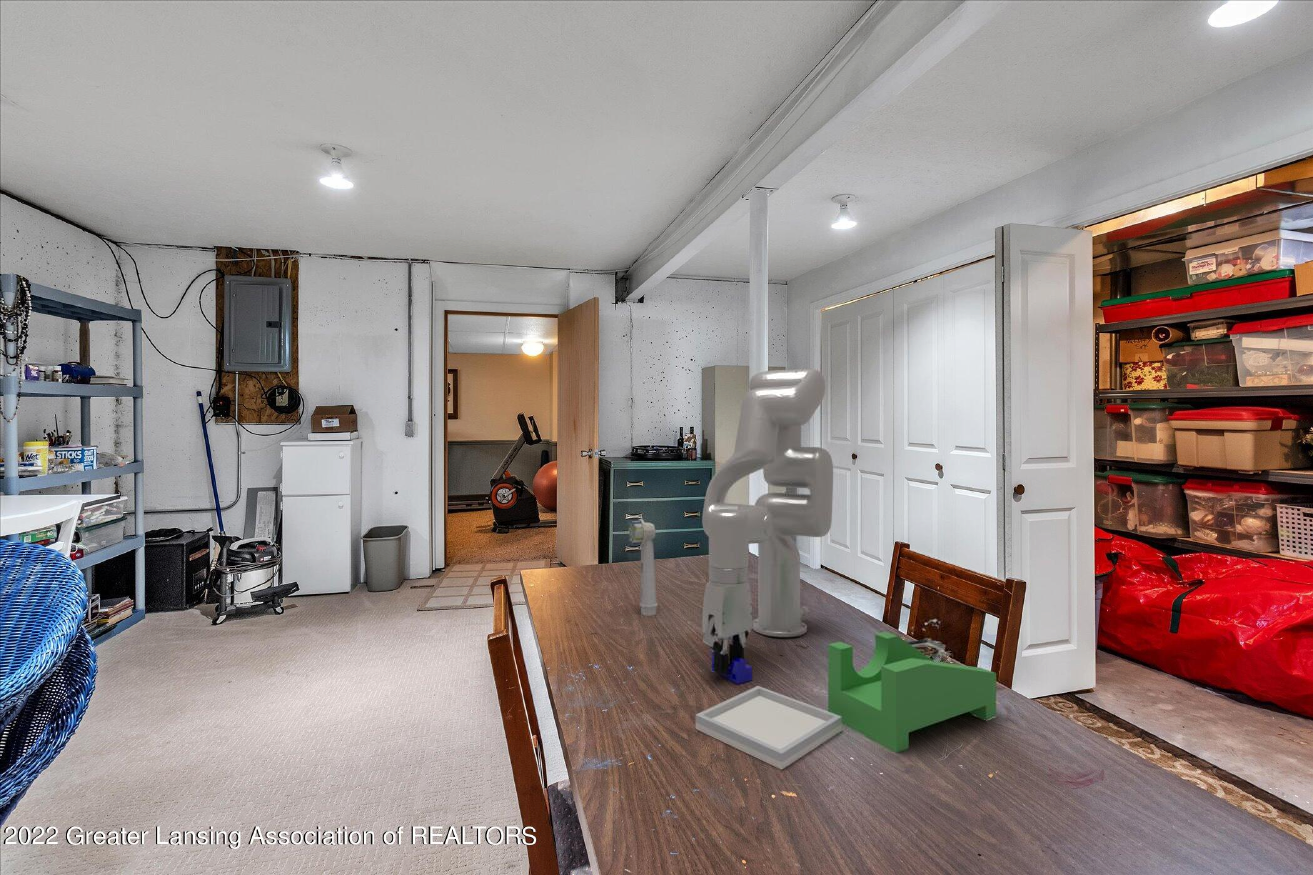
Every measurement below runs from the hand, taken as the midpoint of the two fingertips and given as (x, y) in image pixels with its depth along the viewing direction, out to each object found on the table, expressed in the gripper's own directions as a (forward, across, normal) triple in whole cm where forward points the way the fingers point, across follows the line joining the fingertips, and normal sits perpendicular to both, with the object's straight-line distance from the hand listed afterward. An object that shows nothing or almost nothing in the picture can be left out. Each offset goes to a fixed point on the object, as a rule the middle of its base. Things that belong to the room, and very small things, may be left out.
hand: (729, 668), depth 115 cm
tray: (+1, +12, +18) cm, 22 cm away
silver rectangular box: (+2, -30, +22) cm, 38 cm away
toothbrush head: (+2, -13, -38) cm, 40 cm away
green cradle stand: (+2, -9, +31) cm, 33 cm away
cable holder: (+1, 0, 0) cm, 1 cm away
